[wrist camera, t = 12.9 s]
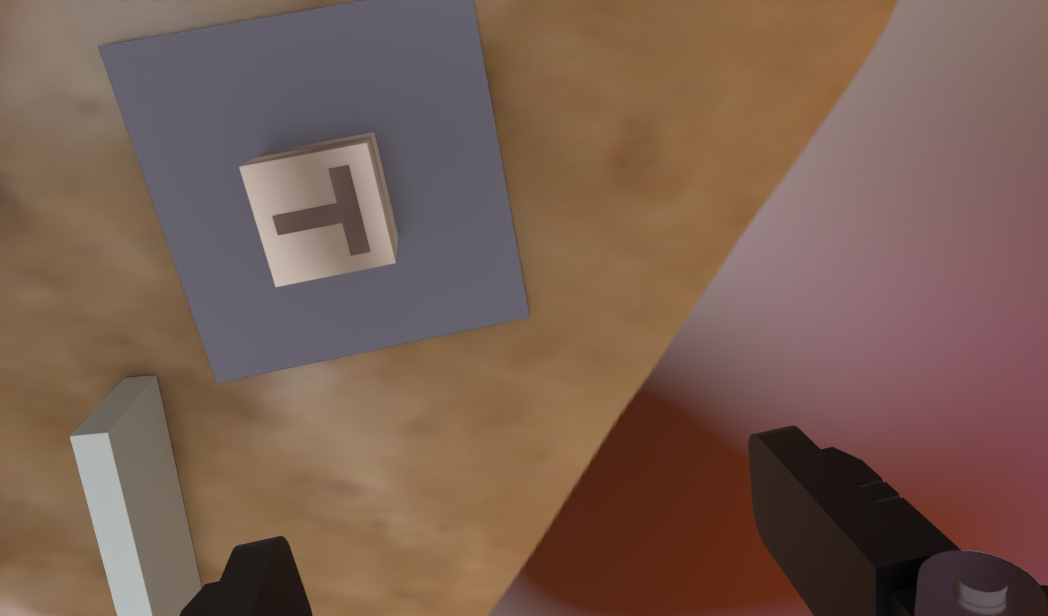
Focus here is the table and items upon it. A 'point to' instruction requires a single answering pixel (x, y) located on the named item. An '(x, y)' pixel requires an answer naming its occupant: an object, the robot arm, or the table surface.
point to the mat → (315, 116)
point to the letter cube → (322, 208)
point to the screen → (137, 501)
